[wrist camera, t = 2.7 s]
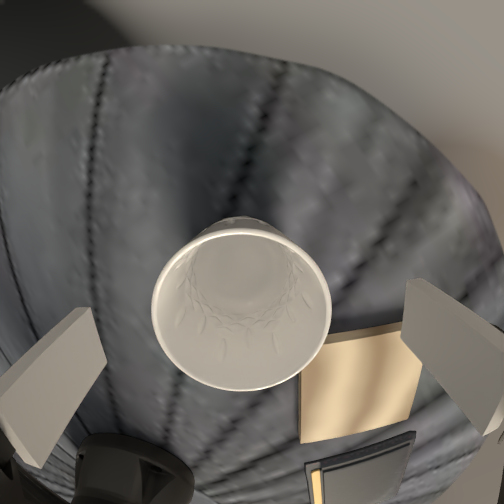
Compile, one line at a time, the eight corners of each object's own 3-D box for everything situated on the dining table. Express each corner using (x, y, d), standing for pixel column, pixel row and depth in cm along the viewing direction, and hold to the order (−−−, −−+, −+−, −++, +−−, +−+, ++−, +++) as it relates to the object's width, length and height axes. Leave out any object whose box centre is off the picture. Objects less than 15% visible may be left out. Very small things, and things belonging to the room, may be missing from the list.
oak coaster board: (298, 433, 27) (300, 443, 25) (297, 338, 24) (301, 347, 23) (402, 410, 27) (407, 418, 25) (422, 317, 24) (430, 323, 23)
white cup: (171, 230, 22) (121, 268, 12) (273, 191, 21) (300, 199, 12) (212, 322, 23) (197, 407, 14) (307, 289, 23) (348, 359, 13)
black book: (398, 500, 31) (309, 525, 31) (394, 493, 33) (307, 517, 33) (425, 432, 27) (305, 468, 27) (419, 423, 29) (303, 457, 29)
